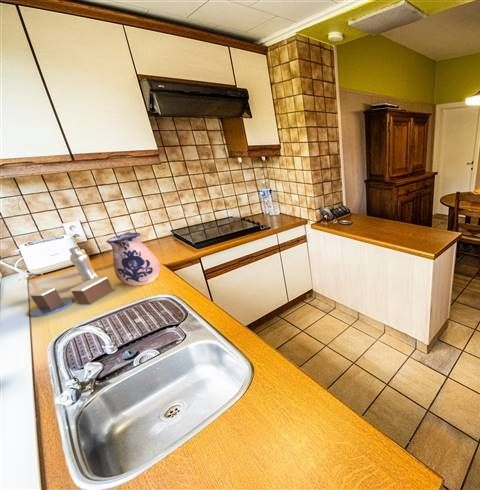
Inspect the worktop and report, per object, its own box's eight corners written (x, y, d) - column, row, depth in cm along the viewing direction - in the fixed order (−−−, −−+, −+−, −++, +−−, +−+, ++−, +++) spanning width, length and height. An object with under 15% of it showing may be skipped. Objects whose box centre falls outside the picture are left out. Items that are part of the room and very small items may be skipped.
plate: (26, 321, 111) (25, 319, 110) (35, 307, 120) (33, 305, 120) (70, 308, 118) (69, 306, 118) (75, 296, 127) (74, 294, 127)
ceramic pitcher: (122, 295, 126) (98, 247, 116) (122, 279, 141) (101, 235, 131) (166, 281, 136) (148, 236, 126) (162, 267, 151) (145, 226, 141)
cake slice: (51, 309, 116) (41, 294, 113) (39, 309, 117) (29, 294, 113) (64, 302, 121) (54, 287, 117) (52, 302, 121) (43, 287, 118)
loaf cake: (90, 304, 120) (81, 289, 117) (78, 304, 121) (69, 289, 117) (113, 290, 130) (106, 276, 127) (102, 290, 131) (95, 276, 127)
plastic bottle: (93, 285, 136) (74, 250, 128) (80, 286, 136) (60, 251, 128) (105, 279, 142) (87, 245, 134) (92, 279, 142) (74, 245, 134)
